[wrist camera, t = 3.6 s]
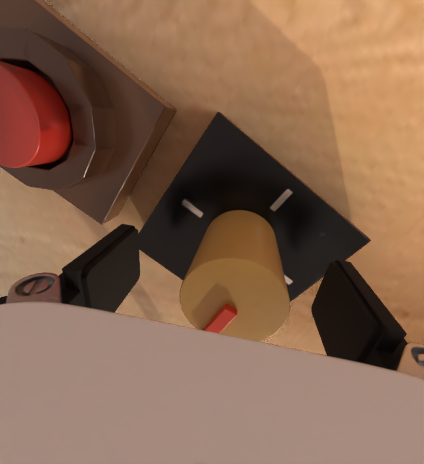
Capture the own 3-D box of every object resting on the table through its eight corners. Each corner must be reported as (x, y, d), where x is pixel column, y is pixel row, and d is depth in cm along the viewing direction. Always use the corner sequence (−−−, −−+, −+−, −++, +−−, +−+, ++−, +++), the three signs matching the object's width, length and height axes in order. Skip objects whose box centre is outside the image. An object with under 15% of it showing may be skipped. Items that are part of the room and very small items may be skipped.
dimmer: (353, 224, 15) (373, 242, 12) (253, 306, 19) (253, 332, 16) (223, 114, 13) (217, 110, 11) (146, 230, 17) (130, 245, 15)
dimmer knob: (229, 195, 13) (213, 239, 7) (291, 236, 13) (318, 306, 8) (192, 249, 14) (159, 315, 9) (247, 283, 15) (245, 365, 10)
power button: (85, 108, 11) (51, 103, 9) (59, 178, 13) (26, 186, 11) (4, 46, 10) (-50, 27, 8) (-11, 129, 12) (-58, 128, 10)
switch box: (176, 110, 14) (149, 101, 10) (117, 215, 17) (82, 237, 14) (31, -10, 12) (-61, -69, 9) (1, 132, 16) (-71, 132, 12)
